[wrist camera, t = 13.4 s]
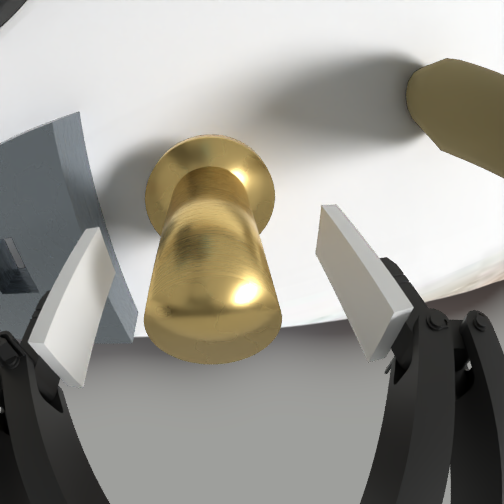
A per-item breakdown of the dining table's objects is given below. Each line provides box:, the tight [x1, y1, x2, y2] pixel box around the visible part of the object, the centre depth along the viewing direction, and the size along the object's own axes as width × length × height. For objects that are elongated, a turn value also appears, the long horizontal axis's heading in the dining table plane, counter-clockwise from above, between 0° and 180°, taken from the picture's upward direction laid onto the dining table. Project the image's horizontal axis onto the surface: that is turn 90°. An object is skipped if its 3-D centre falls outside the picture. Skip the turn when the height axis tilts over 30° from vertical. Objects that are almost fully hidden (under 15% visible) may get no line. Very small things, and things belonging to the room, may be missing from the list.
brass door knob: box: [144, 135, 282, 364], centre depth 14 cm, size 8×8×14 cm
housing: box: [0, 112, 138, 343], centre depth 18 cm, size 20×20×4 cm
